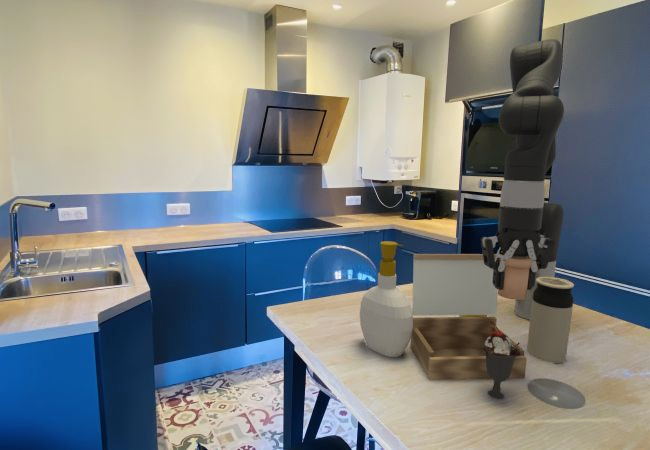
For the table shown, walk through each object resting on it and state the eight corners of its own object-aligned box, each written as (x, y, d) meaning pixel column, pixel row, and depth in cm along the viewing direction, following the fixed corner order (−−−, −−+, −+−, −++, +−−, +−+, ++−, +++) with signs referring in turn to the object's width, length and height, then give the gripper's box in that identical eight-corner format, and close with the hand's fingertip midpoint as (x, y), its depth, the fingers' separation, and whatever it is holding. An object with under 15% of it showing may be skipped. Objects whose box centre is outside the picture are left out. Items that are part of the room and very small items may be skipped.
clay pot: (518, 290, 83) (522, 251, 82) (534, 300, 77) (539, 259, 76) (490, 290, 83) (494, 251, 81) (504, 300, 77) (508, 258, 75)
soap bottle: (421, 355, 92) (428, 245, 87) (396, 368, 86) (403, 250, 81) (375, 334, 102) (379, 234, 98) (350, 344, 97) (353, 238, 92)
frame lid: (496, 314, 94) (495, 313, 94) (498, 254, 93) (497, 254, 94) (413, 315, 92) (412, 314, 93) (414, 254, 91) (413, 254, 92)
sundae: (470, 387, 79) (477, 316, 77) (503, 387, 80) (510, 315, 77) (486, 408, 73) (494, 331, 70) (522, 407, 73) (530, 330, 71)
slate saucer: (562, 381, 82) (563, 377, 82) (597, 410, 73) (597, 406, 72) (517, 382, 81) (518, 378, 81) (546, 412, 72) (547, 408, 72)
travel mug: (551, 367, 87) (561, 289, 84) (519, 351, 94) (527, 278, 91) (573, 359, 91) (583, 284, 88) (540, 345, 98) (549, 274, 95)
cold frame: (491, 348, 96) (494, 316, 95) (524, 380, 82) (528, 344, 81) (410, 349, 94) (411, 317, 93) (429, 382, 81) (431, 345, 79)
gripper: (546, 202, 81) (537, 283, 84) (476, 201, 80) (469, 282, 83) (570, 207, 73) (559, 295, 76) (493, 205, 73) (485, 294, 76)
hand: (512, 288), depth 80 cm, fingers closed on clay pot, 5 cm apart
